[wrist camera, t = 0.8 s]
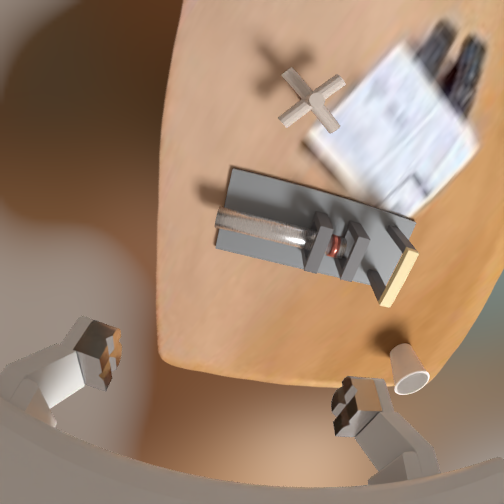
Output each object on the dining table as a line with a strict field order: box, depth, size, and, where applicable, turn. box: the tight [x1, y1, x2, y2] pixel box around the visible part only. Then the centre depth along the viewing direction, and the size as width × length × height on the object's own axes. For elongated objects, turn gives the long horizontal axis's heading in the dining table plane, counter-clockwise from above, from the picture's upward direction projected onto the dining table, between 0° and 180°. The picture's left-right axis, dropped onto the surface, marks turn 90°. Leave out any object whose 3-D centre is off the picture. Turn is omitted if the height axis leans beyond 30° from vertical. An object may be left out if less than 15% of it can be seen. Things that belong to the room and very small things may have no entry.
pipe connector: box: [278, 67, 345, 133], centre depth 35 cm, size 10×10×10 cm
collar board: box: [216, 168, 419, 308], centre depth 45 cm, size 14×32×10 cm, turn 76°
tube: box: [215, 207, 347, 258], centre depth 46 cm, size 4×20×4 cm, turn 76°
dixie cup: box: [390, 343, 429, 395], centre depth 58 cm, size 8×8×10 cm
